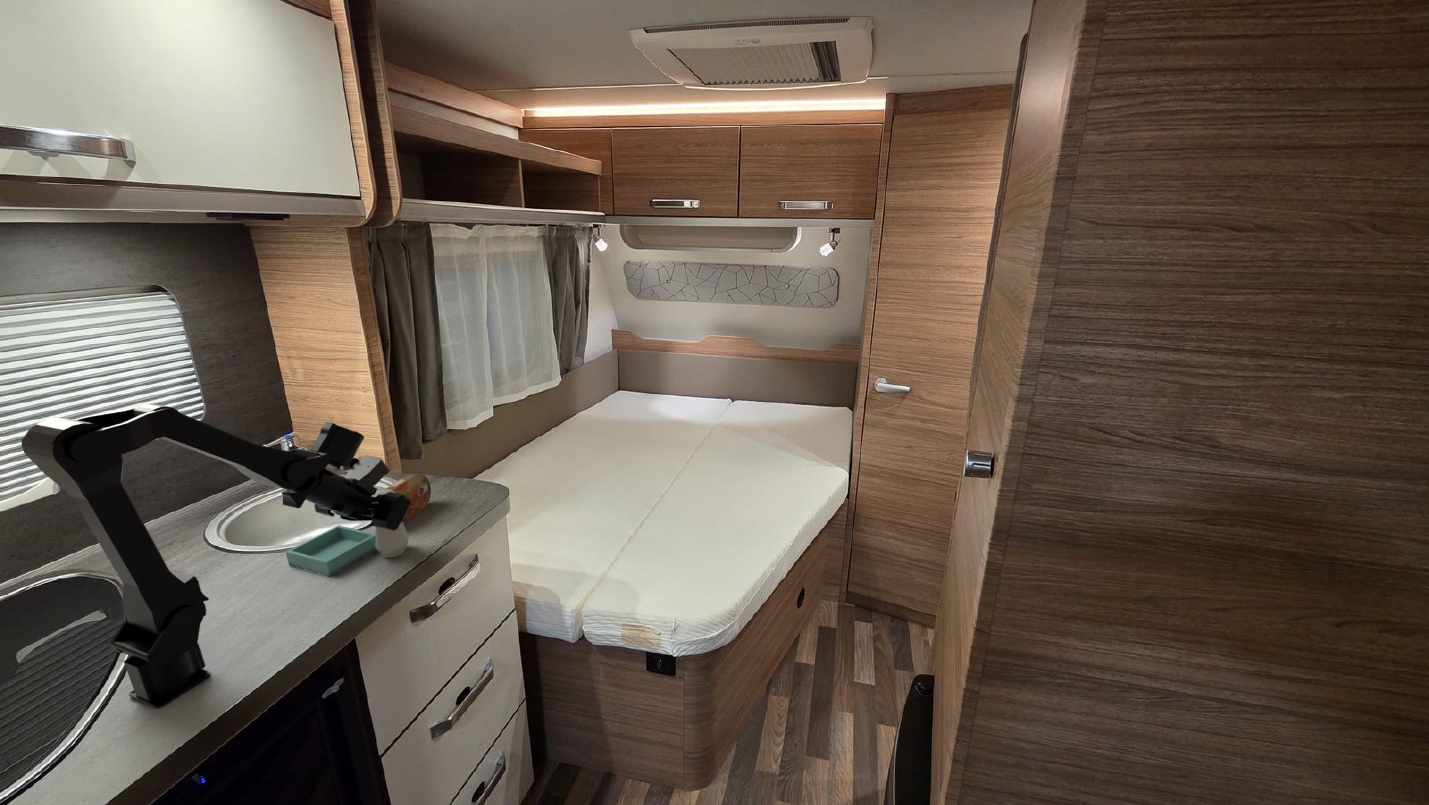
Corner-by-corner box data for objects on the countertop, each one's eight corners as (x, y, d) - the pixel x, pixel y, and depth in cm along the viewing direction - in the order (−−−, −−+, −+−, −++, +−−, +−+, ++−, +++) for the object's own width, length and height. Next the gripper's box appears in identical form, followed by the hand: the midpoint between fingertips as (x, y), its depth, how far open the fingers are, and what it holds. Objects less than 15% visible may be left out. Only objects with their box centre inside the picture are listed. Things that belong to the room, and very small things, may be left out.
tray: (329, 576, 107) (326, 562, 106) (289, 565, 110) (285, 551, 109) (380, 547, 116) (377, 534, 115) (341, 538, 120) (338, 525, 119)
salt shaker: (397, 542, 118) (387, 483, 114) (417, 548, 116) (406, 488, 112) (370, 556, 113) (358, 495, 109) (390, 563, 111) (378, 501, 107)
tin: (387, 534, 121) (380, 497, 119) (374, 533, 122) (366, 496, 119) (434, 502, 135) (428, 468, 133) (422, 501, 136) (416, 467, 134)
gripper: (393, 455, 101) (450, 487, 114) (317, 442, 107) (379, 474, 120) (361, 516, 96) (424, 543, 109) (283, 499, 103) (351, 526, 116)
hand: (394, 519), depth 114 cm, fingers closed on salt shaker, 3 cm apart
